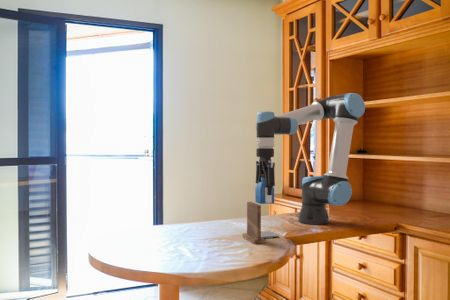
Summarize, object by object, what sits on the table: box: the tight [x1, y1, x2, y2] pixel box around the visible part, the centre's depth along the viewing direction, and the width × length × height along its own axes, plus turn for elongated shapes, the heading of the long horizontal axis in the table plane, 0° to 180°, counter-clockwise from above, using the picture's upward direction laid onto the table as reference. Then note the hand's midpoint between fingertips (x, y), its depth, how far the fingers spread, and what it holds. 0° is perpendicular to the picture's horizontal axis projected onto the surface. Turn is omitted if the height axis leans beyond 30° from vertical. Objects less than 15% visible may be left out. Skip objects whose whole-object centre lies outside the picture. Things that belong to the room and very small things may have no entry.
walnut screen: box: [241, 201, 267, 245], centre depth 161 cm, size 5×12×15 cm, turn 20°
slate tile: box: [261, 230, 280, 239], centre depth 169 cm, size 9×9×1 cm
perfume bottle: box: [254, 174, 275, 205], centre depth 169 cm, size 6×6×12 cm
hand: (264, 201), depth 169 cm, fingers closed on perfume bottle, 6 cm apart
